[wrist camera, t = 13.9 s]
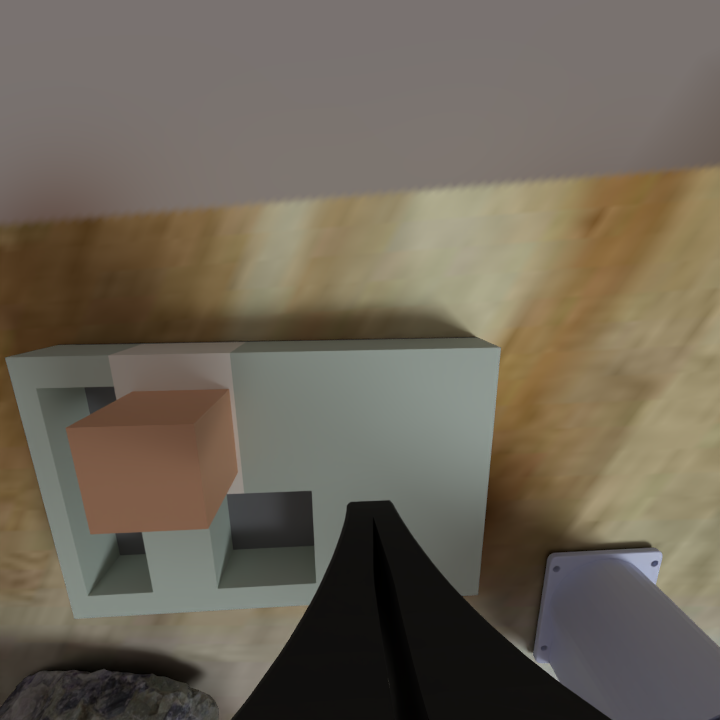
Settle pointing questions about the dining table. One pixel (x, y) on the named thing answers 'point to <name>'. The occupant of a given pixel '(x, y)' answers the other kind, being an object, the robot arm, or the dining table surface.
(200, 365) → the board
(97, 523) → the terracotta block
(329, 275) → the dining table surface
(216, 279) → the dining table surface
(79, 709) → the mineral rock
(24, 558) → the dining table surface
